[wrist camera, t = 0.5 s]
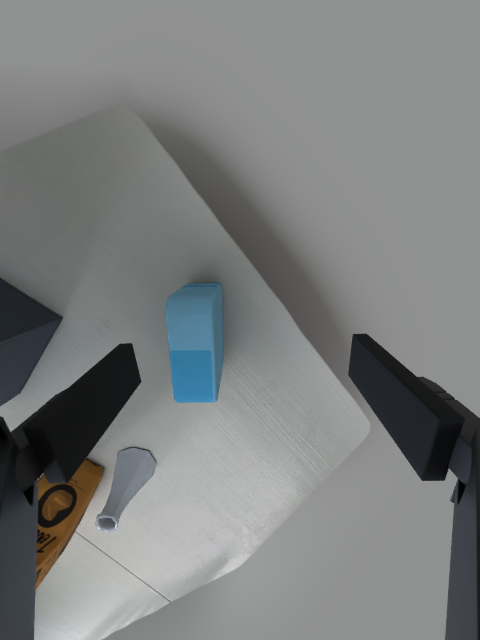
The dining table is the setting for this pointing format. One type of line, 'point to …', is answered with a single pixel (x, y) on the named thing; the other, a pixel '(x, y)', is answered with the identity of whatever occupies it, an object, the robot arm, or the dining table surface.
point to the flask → (125, 485)
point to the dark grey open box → (21, 338)
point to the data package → (196, 341)
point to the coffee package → (62, 513)
